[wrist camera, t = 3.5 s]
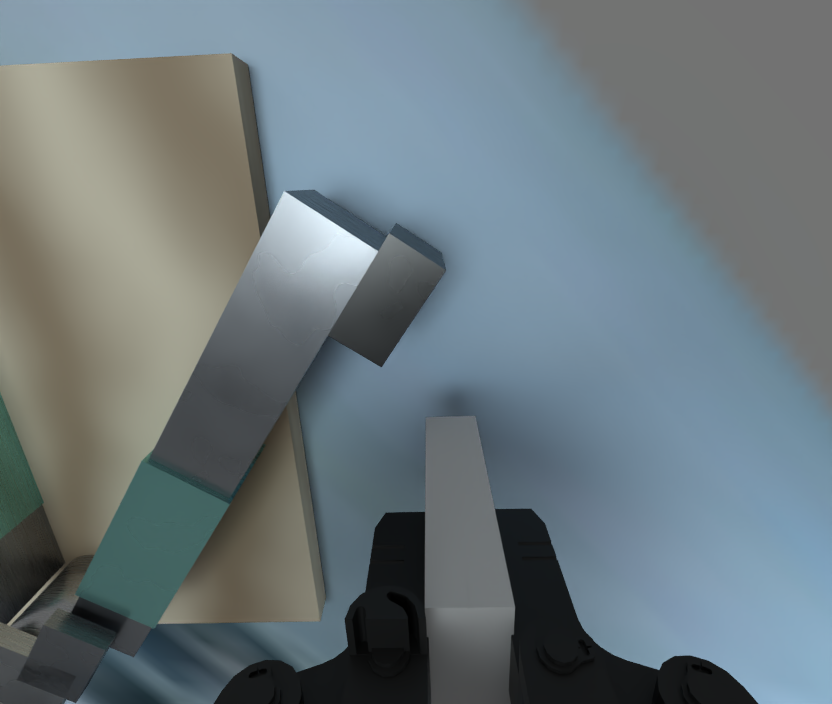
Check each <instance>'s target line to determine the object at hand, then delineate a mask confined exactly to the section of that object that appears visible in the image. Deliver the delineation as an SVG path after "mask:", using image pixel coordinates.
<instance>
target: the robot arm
mask: <svg viewBox="0 0 832 704" xmlns="http://www.w3.org/2000/svg"><path fill="white" fill-rule="evenodd" d="M345 625H346V633H347V641H348V647H347V648H346V649H345V650H344V651H343V652H342V653H341V654H339V655H338V656H337V657H335V658H334V659H332V660H329V661H327V662H325V663H323V664H320V665H317V666H314V667H311V668H309V669H306V670H303V671H300V672H297V673H296V672H295V670H294V668H293V667H292V666H290V665H288V664H286V663H284V662H282V661H279V660H264V661H261V662H258V663H255V664H252V665H249V666H248V667H247V668H245V669H244V670H242V671H241V672H239V673H238V674H237V675H235V676H234V677H233V678H232V679H231V681H230V682H229V683H228V684H227V685H226V687H225V688H224V689H223V690H222V691H221V693H220V695H219V696H218V698H217V699H216V701H215V703H214V704H510V703H511V704H758V703H757V702H756V701H755V699H754V698H753V697H752V696H751V695H750V694H749V692H748V691H747V690H746V689H745V688H744V687H743V686H742V685H741V684H740V683H739V682H738V681H737V680H736V679H734V678H733V677H732V676H731V675H730V674H729V673H728V672H727V671H725V670H723V669H722V668H720V667H718V666H716V665H715V664H713V663H711V662H709V661H707V660H704V659H700V658H697V657H693V656H674V657H672V658H670V659H669V660H667V661H665V662H664V663H663V664H662V666H661V668H660V670H657V669H653V668H650V667H647V666H643V665H640V664H637V663H633V662H630V661H627V660H624V659H622V658H619V657H617V656H614V655H612V654H611V653H609V652H607V651H606V650H604V649H603V648H601V647H600V646H599V645H597V644H596V643H595V642H594V641H593V639H592V638H591V637H590V636H589V635H588V634H587V633H586V632H585V631H584V629H583V628H582V626H581V624H580V622H579V620H578V618H577V615H576V612H575V609H574V606H573V603H572V601H571V598H570V595H569V592H568V589H567V586H566V583H565V580H564V577H563V575H562V572H561V569H560V566H559V563H558V560H557V559H556V554H555V551H554V549H553V546H552V545H551V540H550V537H549V534H548V531H547V528H546V525H545V523H544V522H543V521H542V520H541V519H540V518H539V517H538V516H537V515H536V514H535V512H534V511H533V510H532V509H495V508H494V503H493V498H492V494H491V489H490V484H489V479H488V474H487V469H486V465H485V460H484V455H483V450H482V445H481V441H480V436H479V431H478V426H477V421H476V416H448V417H426V464H425V512H395V513H385V514H384V516H383V517H382V519H381V520H380V522H379V523H378V524H377V526H376V527H375V532H374V538H373V545H372V552H371V558H370V565H369V571H368V578H367V585H366V591H365V593H363V594H361V595H360V596H359V597H358V598H357V599H356V600H355V601H354V602H353V603H352V604H351V605H350V608H349V610H348V613H347V615H346V617H345Z"/></svg>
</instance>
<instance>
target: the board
mask: <svg viewBox="0 0 832 704" xmlns="http://www.w3.org/2000/svg"><path fill="white" fill-rule="evenodd" d="M269 220H270V213H269V206H268V199H267V192H266V186H265V179H264V172H263V165H262V158H261V152H260V145H259V138H258V131H257V124H256V118H255V111H254V104H253V97H252V90H251V83H250V77H249V70H248V64H246V63H245V62H243V61H242V60H240V59H239V58H237V57H236V56H234V55H233V54H232V53H230V54H212V55H193V56H174V57H155V58H136V59H117V60H98V61H80V62H61V63H42V64H23V65H4V66H0V393H1V396H2V398H3V401H4V403H5V406H6V408H7V411H8V413H9V416H10V418H11V421H12V423H13V426H14V428H15V431H16V433H17V436H18V439H19V441H20V444H21V446H22V449H23V451H24V454H25V456H26V459H27V461H28V464H29V466H30V469H31V471H32V474H33V476H34V479H35V481H36V484H37V486H38V489H39V491H40V494H41V497H42V499H43V502H44V503H43V504H42V505H43V508H44V510H45V513H46V515H47V518H48V520H49V523H50V525H51V528H52V530H53V533H54V535H55V538H56V541H57V543H58V546H59V548H60V551H61V553H62V556H63V558H64V561H65V564H64V565H63V566H62V567H61V568H60V569H59V570H58V571H57V572H56V573H55V574H54V575H53V576H52V577H51V579H50V580H49V581H48V582H47V583H46V584H45V585H44V586H43V587H42V588H41V589H40V590H39V591H38V592H37V593H36V594H35V595H34V596H33V598H32V599H31V600H30V601H29V602H28V603H27V604H26V605H25V606H24V607H23V608H22V609H21V610H20V611H19V612H18V613H17V614H16V615H15V616H14V618H13V619H12V620H11V621H10V622H9V623H8V624H7V625H9V626H11V625H12V623H13V622H14V621H15V620H16V619H17V618H18V617H19V616H20V615H21V614H22V613H23V612H24V611H25V610H26V609H27V607H28V606H29V605H30V604H31V603H32V602H33V601H34V600H35V599H36V598H37V597H38V596H39V595H40V594H41V593H42V591H43V590H44V589H45V588H46V587H47V586H48V585H49V584H50V583H51V582H52V581H53V580H54V579H55V578H56V577H57V575H58V574H59V573H60V572H61V571H62V570H63V569H64V568H65V567H66V566H67V565H68V564H69V563H70V562H71V561H72V560H73V559H75V558H77V557H79V556H83V555H95V553H96V551H97V549H98V547H99V545H100V543H101V541H102V539H103V537H104V535H105V533H106V531H107V529H108V527H109V525H110V523H111V521H112V519H113V517H114V515H115V513H116V511H117V509H118V507H119V505H120V503H121V501H122V499H123V497H124V495H125V493H126V491H127V489H128V487H129V485H130V483H131V481H132V479H133V477H134V475H135V473H136V471H137V469H138V467H139V465H140V463H141V461H142V460H143V459H144V458H145V457H146V456H147V455H148V454H149V453H150V452H151V451H152V450H153V449H154V448H155V446H156V444H157V442H158V440H159V438H160V436H161V434H162V432H163V430H164V428H165V426H166V424H167V422H168V420H169V418H170V416H171V414H172V412H173V410H174V408H175V406H176V404H177V402H178V400H179V398H180V396H181V394H182V392H183V390H184V388H185V386H186V384H187V382H188V380H189V379H190V377H191V375H192V373H193V371H194V369H195V367H196V365H197V363H198V361H199V359H200V357H201V355H202V353H203V351H204V349H205V347H206V345H207V343H208V341H209V339H210V337H211V335H212V333H213V331H214V329H215V327H216V325H217V323H218V321H219V319H220V317H221V315H222V313H223V311H224V309H225V307H226V305H227V303H228V301H229V299H230V297H231V295H232V293H233V291H234V290H235V288H236V286H237V284H238V282H239V280H240V278H241V276H242V274H243V272H244V270H245V268H246V266H247V264H248V262H249V260H250V258H251V256H252V254H253V252H254V250H255V248H256V246H257V244H258V242H259V240H260V238H261V236H262V234H263V232H264V230H265V228H266V226H267V224H268V222H269ZM264 444H265V445H266V446H265V447H264V449H263V451H262V452H261V454H260V456H259V457H258V459H257V461H256V462H255V464H254V465H253V467H252V469H251V470H250V472H249V474H248V475H247V477H246V479H245V480H244V482H243V484H242V485H241V487H240V489H239V490H238V492H237V494H236V495H235V497H234V498H233V500H232V502H231V503H230V505H229V507H228V508H227V510H226V512H225V513H224V515H223V517H222V518H221V520H220V522H219V523H218V525H217V526H216V528H215V530H214V531H213V533H212V535H211V536H210V538H209V540H208V541H207V543H206V545H205V546H204V548H203V550H202V551H201V553H200V555H199V556H198V558H197V559H196V561H195V563H194V564H193V566H192V568H191V569H190V571H189V573H188V574H187V576H186V578H185V579H184V581H183V583H182V584H181V586H180V587H179V589H178V591H177V592H176V594H175V596H174V597H173V599H172V601H171V602H170V604H169V606H168V607H167V609H166V611H165V612H164V614H163V615H162V617H161V619H160V620H159V622H158V624H178V623H244V622H310V621H320V620H321V616H322V612H323V608H324V604H325V599H326V594H325V588H324V581H323V574H322V567H321V560H320V554H319V547H318V540H317V533H316V526H315V519H314V513H313V506H312V499H311V492H310V485H309V479H308V472H307V465H306V458H305V451H304V445H303V438H302V431H301V424H300V417H299V410H298V404H297V397H296V390H295V392H294V394H293V395H292V397H291V399H290V400H289V402H288V404H287V405H286V407H285V409H284V410H283V412H282V414H281V415H280V417H279V419H278V420H277V422H276V424H275V425H274V427H273V429H272V430H271V432H270V434H269V435H268V437H267V439H266V440H265V442H264Z"/></svg>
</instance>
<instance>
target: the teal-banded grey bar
mask: <svg viewBox="0 0 832 704" xmlns="http://www.w3.org/2000/svg"><path fill="white" fill-rule="evenodd" d="M43 503H44V502H43V499H42V497H41V494H40V491H39V489H38V486H37V484H36V481H35V479H34V476H33V474H32V471H31V469H30V466H29V464H28V461H27V459H26V456H25V454H24V451H23V449H22V446H21V444H20V441H19V439H18V436H17V433H16V431H15V428H14V426H13V423H12V421H11V418H10V416H9V413H8V411H7V408H6V406H5V403H4V401H3V398H2V396H1V393H0V622H1V623H4V624H6V625H7V624H8V623H9V622H10V621H11V620H12V619H13V618H14V616H15V615H16V614H17V613H18V612H19V611H20V610H21V609H22V608H23V607H24V606H25V605H26V604H27V603H28V602H29V601H30V600H31V599H32V598H33V596H34V595H35V594H36V593H37V592H38V591H39V590H40V589H41V588H42V587H43V586H44V585H45V584H46V583H47V582H48V581H49V580H50V579H51V577H52V576H53V575H54V574H55V573H56V572H57V571H58V570H59V569H60V568H61V567H62V566H63V565H64V564H65V561H64V558H63V556H62V553H61V551H60V548H59V546H58V543H57V541H56V538H55V535H54V533H53V530H52V528H51V525H50V523H49V520H48V518H47V515H46V513H45V510H44V508H43V505H42V504H43ZM93 557H94V555H83V556H79V557H77V558H75V559H73V560H72V561H71V562H70V563H69V564H68V565H67V566H66V567H65V568H64V569H63V570H62V571H61V572H60V573H59V574H58V575H57V577H56V578H55V579H54V580H53V581H52V582H51V583H50V584H49V585H48V586H47V587H46V588H45V589H44V590H43V591H42V593H41V594H40V595H39V596H38V597H37V598H36V599H35V600H34V601H33V602H32V603H31V604H30V605H29V606H28V607H27V609H26V610H25V611H24V612H23V613H22V614H21V615H20V616H19V617H18V618H17V619H16V620H15V621H14V622H13V623H12V625H11V627H13V628H16V629H18V630H21V631H23V632H26V633H28V634H31V635H33V636H36V637H38V635H39V633H40V631H41V629H42V626H43V625H44V623H45V622H46V621H47V620H48V619H49V618H50V617H51V615H52V614H53V613H54V612H55V611H56V610H57V608H60V609H62V610H64V611H67V612H69V613H71V612H72V610H73V608H74V606H75V604H76V602H77V600H78V598H79V596H76V595H75V593H76V591H77V589H78V587H79V585H80V583H81V581H82V579H83V577H84V575H85V573H86V571H87V569H88V567H89V565H90V563H91V561H92V559H93Z"/></svg>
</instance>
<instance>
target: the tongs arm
mask: <svg viewBox="0 0 832 704" xmlns="http://www.w3.org/2000/svg"><path fill="white" fill-rule="evenodd" d="M445 271H446V268H445V264H444V261H443V257H442V253H441V252H440V251H438V250H437V249H435V248H434V247H432V246H431V245H429V244H428V243H426V242H424V241H423V240H421V239H420V238H418V237H417V236H415V235H414V234H412V233H411V232H409V231H408V230H406V229H405V228H403V227H402V226H400V225H399V224H397V223H396V225H395V226H394V227H393V229H392V230H391V231H390V233H389V234H388V236H387V237H386V236H384V235H383V234H381V233H380V232H378V231H377V230H375V229H374V228H372V227H371V226H369V225H368V224H366V223H365V222H363V221H361V220H360V219H358V218H357V217H355V216H354V215H352V214H351V213H349V212H348V211H346V210H345V209H343V208H341V207H340V206H338V205H337V204H335V203H334V202H332V201H331V200H329V199H328V198H326V197H325V196H323V195H321V194H320V193H318V192H317V191H315V190H298V191H284V193H283V195H282V197H281V199H280V200H279V202H278V204H277V206H276V208H275V210H274V212H273V214H272V216H271V218H270V220H269V222H268V224H267V226H266V228H265V230H264V232H263V234H262V236H261V238H260V240H259V242H258V244H257V246H256V248H255V250H254V252H253V254H252V256H251V258H250V260H249V262H248V264H247V266H246V268H245V270H244V272H243V274H242V276H241V278H240V280H239V282H238V284H237V286H236V288H235V290H234V291H233V293H232V295H231V297H230V299H229V301H228V303H227V305H226V307H225V309H224V311H223V313H222V315H221V317H220V319H219V321H218V323H217V325H216V327H215V329H214V331H213V333H212V335H211V337H210V339H209V341H208V343H207V345H206V347H205V349H204V351H203V353H202V355H201V357H200V359H199V361H198V363H197V365H196V367H195V369H194V371H193V373H192V375H191V377H190V379H189V380H188V382H187V384H186V386H185V388H184V390H183V392H182V394H181V396H180V398H179V400H178V402H177V404H176V406H175V408H174V410H173V412H172V414H171V416H170V418H169V420H168V422H167V424H166V426H165V428H164V430H163V432H162V434H161V436H160V438H159V440H158V442H157V444H156V446H155V448H154V449H153V450H152V451H151V452H150V453H149V454H148V455H147V456H146V457H145V458H144V459H143V460H142V461H141V463H140V465H139V467H138V469H137V471H136V473H135V475H134V477H133V479H132V481H131V483H130V485H129V487H128V489H127V491H126V493H125V495H124V497H123V499H122V501H121V503H120V505H119V507H118V509H117V511H116V513H115V515H114V517H113V519H112V521H111V523H110V525H109V527H108V529H107V531H106V533H105V535H104V537H103V539H102V541H101V543H100V545H99V547H98V549H97V551H96V553H95V555H94V557H93V559H92V561H91V563H90V565H89V567H88V569H87V571H86V573H85V575H84V577H83V579H82V581H81V583H80V585H79V587H78V589H77V591H76V593H75V595H76V596H79V598H78V600H77V602H76V604H75V606H74V608H73V610H72V612H71V613H69V612H67V611H64V610H62V609H60V608H57V610H56V611H55V612H54V613H53V614H52V615H51V617H50V618H49V619H48V620H47V621H46V622H45V623H44V625H43V626H42V629H41V631H40V633H39V635H38V637H36V636H33V635H31V634H28V633H26V632H23V631H21V630H18V629H16V628H13V627H11V626H9V625H6V624H4V623H1V622H0V704H64V703H65V701H66V699H67V700H70V701H72V702H75V703H76V702H77V701H78V699H79V698H80V696H81V695H82V693H83V692H84V690H85V689H86V687H87V686H88V684H89V682H90V681H91V679H92V677H93V675H94V674H95V672H96V670H97V668H98V666H99V665H100V663H101V661H102V659H103V658H104V656H105V654H106V652H107V651H108V649H109V647H110V648H113V649H115V650H118V651H120V652H123V653H125V654H127V655H130V656H132V657H134V656H135V654H136V653H137V651H138V649H139V648H140V646H141V645H142V643H143V641H144V640H145V638H146V636H147V635H148V633H149V632H150V630H151V628H153V629H155V627H156V625H157V624H158V622H159V620H160V619H161V617H162V615H163V614H164V612H165V611H166V609H167V607H168V606H169V604H170V602H171V601H172V599H173V597H174V596H175V594H176V592H177V591H178V589H179V587H180V586H181V584H182V583H183V581H184V579H185V578H186V576H187V574H188V573H189V571H190V569H191V568H192V566H193V564H194V563H195V561H196V559H197V558H198V556H199V555H200V553H201V551H202V550H203V548H204V546H205V545H206V543H207V541H208V540H209V538H210V536H211V535H212V533H213V531H214V530H215V528H216V526H217V525H218V523H219V522H220V520H221V518H222V517H223V515H224V513H225V512H226V510H227V508H228V507H229V505H230V503H231V502H232V500H233V498H234V497H235V495H236V494H237V492H238V490H239V489H240V487H241V485H242V484H243V482H244V480H245V479H246V477H247V475H248V474H249V472H250V470H251V469H252V467H253V465H254V464H255V462H256V461H257V459H258V457H259V456H260V454H261V452H262V451H263V449H264V447H265V446H266V445H265V444H264V442H265V440H266V439H267V437H268V435H269V434H270V432H271V430H272V429H273V427H274V425H275V424H276V422H277V420H278V419H279V417H280V415H281V414H282V412H283V410H284V409H285V407H286V405H287V404H288V402H289V400H290V399H291V397H292V395H293V394H294V392H295V390H296V389H297V387H298V386H299V384H300V382H301V381H302V379H303V377H304V376H305V374H306V372H307V371H308V369H309V367H310V366H311V364H312V362H313V361H314V359H315V357H316V356H317V354H318V352H319V351H320V349H321V347H322V346H323V344H324V342H325V341H326V339H327V337H328V336H329V337H331V338H333V339H334V340H336V341H338V342H340V343H341V344H343V345H345V346H346V347H348V348H350V349H351V350H353V351H355V352H357V353H358V354H360V355H362V356H363V357H365V358H367V359H368V360H370V361H372V362H373V363H375V364H377V365H379V366H380V367H382V366H383V364H384V363H385V361H386V360H387V358H388V357H389V355H390V354H391V352H392V351H393V349H394V348H395V346H396V345H397V343H398V342H399V340H400V339H401V337H402V336H403V334H404V333H405V331H406V330H407V328H408V327H409V325H410V324H411V322H412V321H413V319H414V318H415V316H416V315H417V313H418V312H419V310H420V309H421V307H422V306H423V304H424V303H425V301H426V300H427V298H428V297H429V295H430V294H431V292H432V291H433V289H434V288H435V286H436V285H437V283H438V282H439V280H440V279H441V277H442V276H443V274H444V273H445Z"/></svg>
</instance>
